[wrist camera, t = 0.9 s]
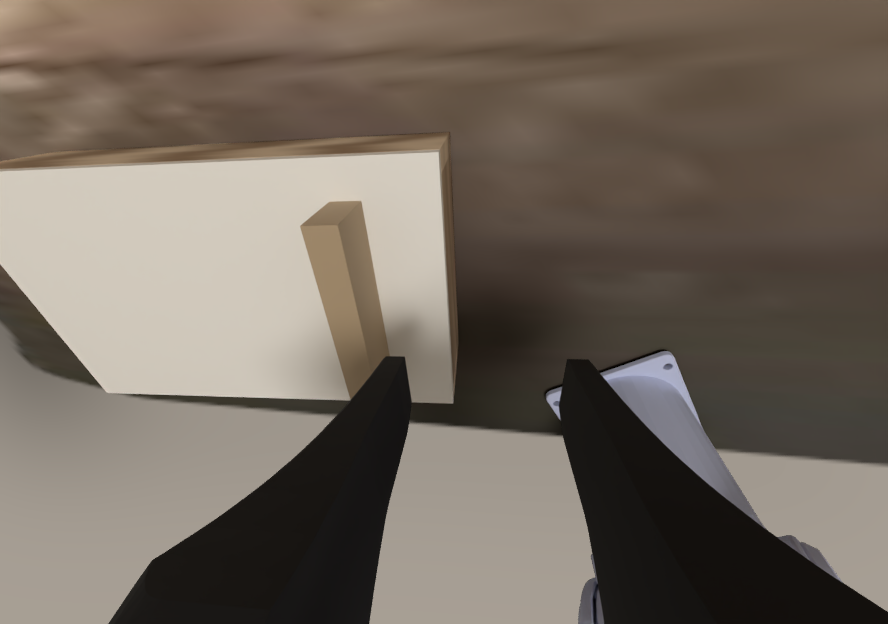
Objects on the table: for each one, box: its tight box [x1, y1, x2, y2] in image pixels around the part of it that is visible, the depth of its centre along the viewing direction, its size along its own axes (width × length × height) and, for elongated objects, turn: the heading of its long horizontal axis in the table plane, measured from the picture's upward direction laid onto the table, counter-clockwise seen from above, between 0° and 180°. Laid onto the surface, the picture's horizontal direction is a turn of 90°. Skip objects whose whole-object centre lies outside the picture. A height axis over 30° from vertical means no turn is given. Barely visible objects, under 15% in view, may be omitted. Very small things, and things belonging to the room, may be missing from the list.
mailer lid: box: [0, 150, 454, 404], centre depth 15 cm, size 20×12×3 cm, turn 93°
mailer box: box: [0, 132, 459, 389], centre depth 18 cm, size 20×12×4 cm, turn 93°
